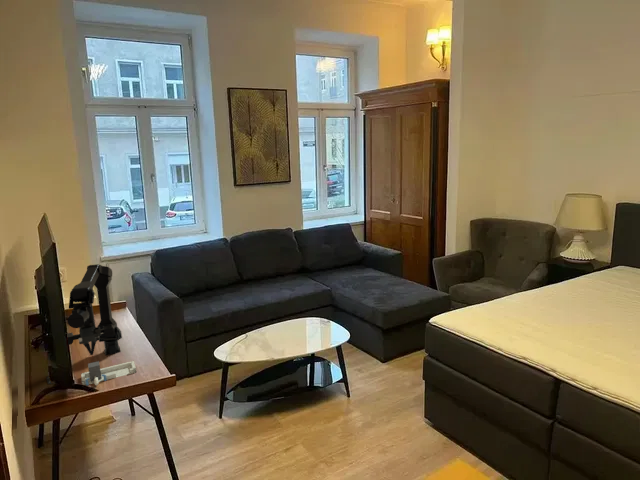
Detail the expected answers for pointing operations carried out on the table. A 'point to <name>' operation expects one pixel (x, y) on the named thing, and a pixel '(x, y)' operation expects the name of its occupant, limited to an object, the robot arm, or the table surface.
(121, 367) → the long open trough
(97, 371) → the cord plug
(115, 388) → the table surface
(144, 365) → the table surface
